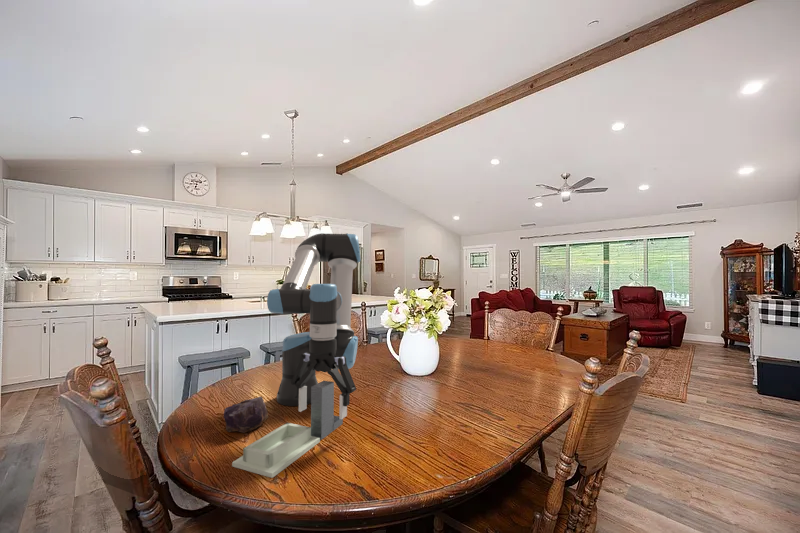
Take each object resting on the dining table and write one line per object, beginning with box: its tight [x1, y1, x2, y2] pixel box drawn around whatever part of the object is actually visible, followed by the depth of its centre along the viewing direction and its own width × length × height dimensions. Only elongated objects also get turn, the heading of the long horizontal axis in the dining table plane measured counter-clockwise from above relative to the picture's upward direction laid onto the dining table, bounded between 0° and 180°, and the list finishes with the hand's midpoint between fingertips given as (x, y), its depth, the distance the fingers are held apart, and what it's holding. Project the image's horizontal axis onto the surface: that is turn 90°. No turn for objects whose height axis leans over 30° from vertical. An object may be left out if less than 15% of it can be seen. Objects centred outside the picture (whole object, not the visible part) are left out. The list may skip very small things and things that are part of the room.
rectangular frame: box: [231, 422, 321, 479], centre depth 88 cm, size 12×18×4 cm, turn 158°
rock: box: [223, 396, 269, 434], centre depth 102 cm, size 12×9×10 cm
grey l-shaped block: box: [310, 380, 344, 441], centre depth 101 cm, size 4×11×14 cm, turn 158°
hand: (322, 413), depth 99 cm, fingers open, 13 cm apart
